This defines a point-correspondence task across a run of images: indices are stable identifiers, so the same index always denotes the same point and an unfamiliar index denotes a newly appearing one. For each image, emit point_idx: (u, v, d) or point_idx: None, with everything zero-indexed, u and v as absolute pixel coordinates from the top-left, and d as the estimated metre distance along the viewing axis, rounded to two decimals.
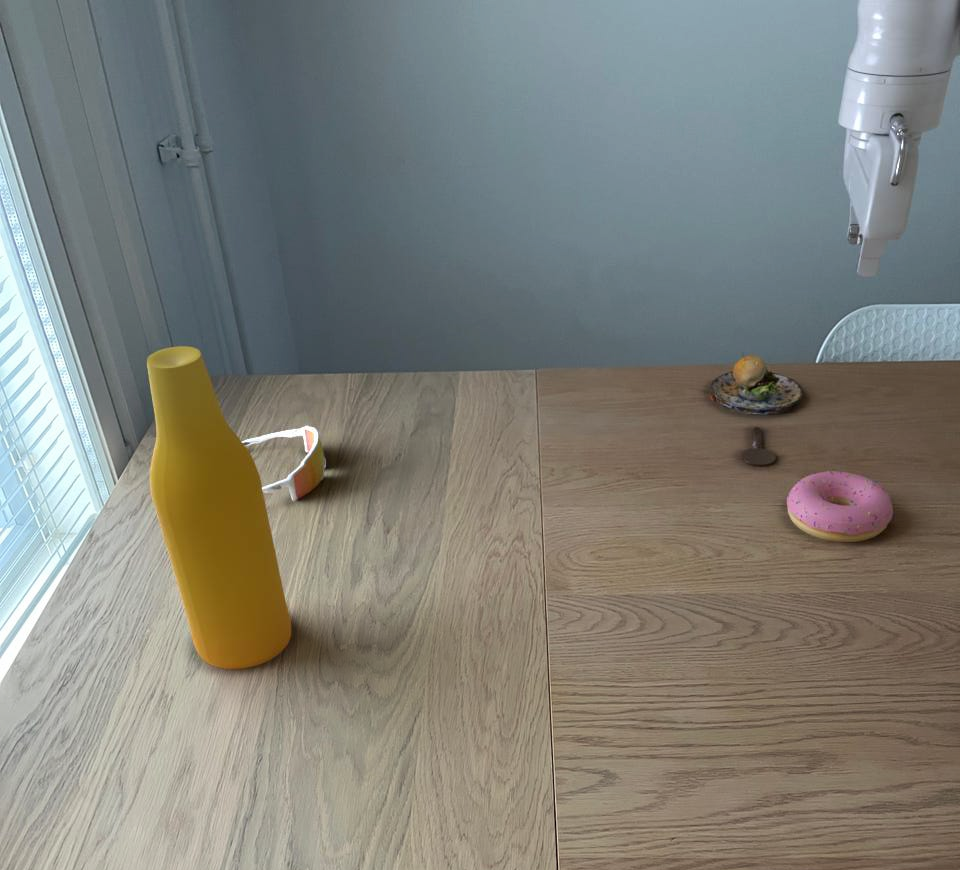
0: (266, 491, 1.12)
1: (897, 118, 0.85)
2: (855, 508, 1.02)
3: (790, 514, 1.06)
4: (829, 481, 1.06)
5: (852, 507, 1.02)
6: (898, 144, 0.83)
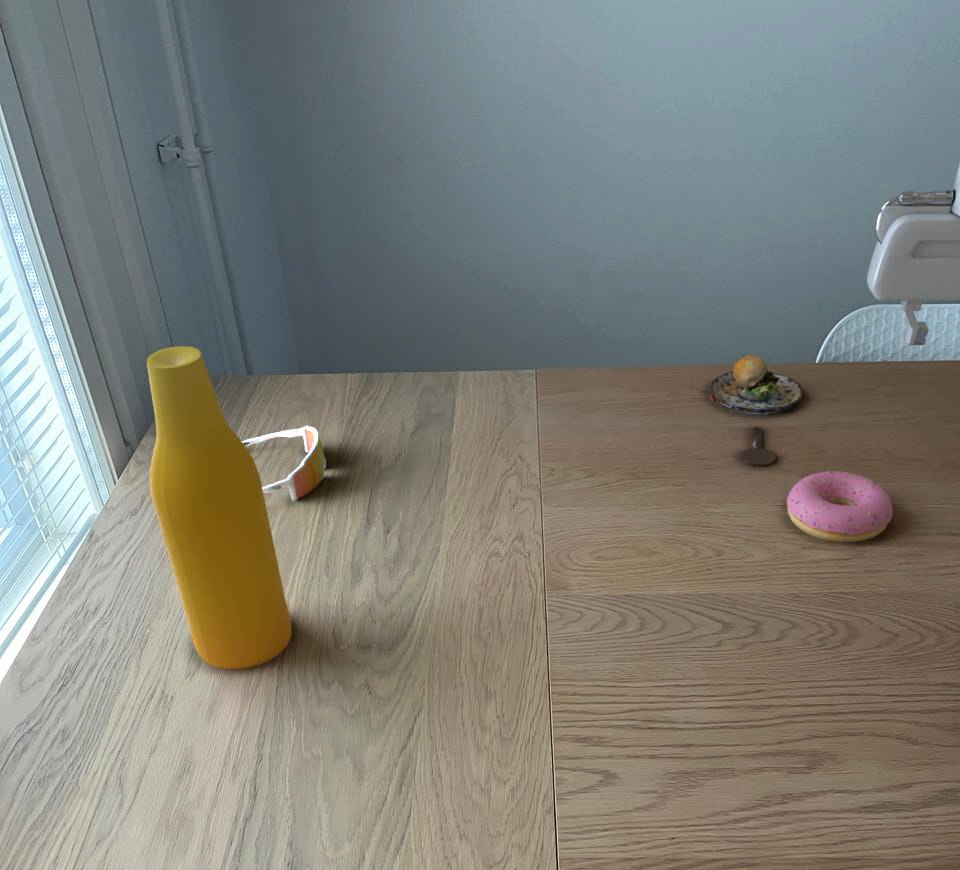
0: (266, 491, 1.12)
1: (938, 191, 0.86)
2: (855, 508, 1.02)
3: (790, 514, 1.06)
4: (829, 481, 1.06)
5: (852, 507, 1.02)
6: None
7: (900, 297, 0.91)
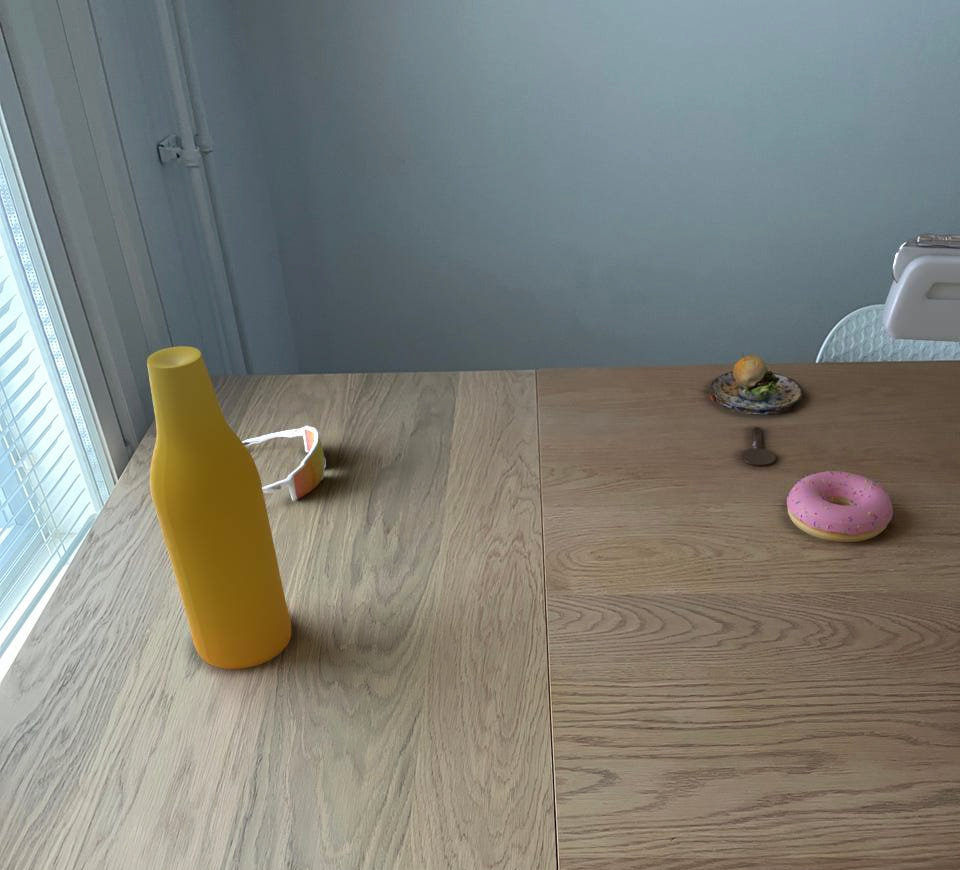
0: (266, 491, 1.12)
1: (955, 234, 0.87)
2: (855, 508, 1.02)
3: (790, 514, 1.06)
4: (829, 481, 1.06)
5: (852, 507, 1.02)
6: None
7: (914, 336, 0.91)
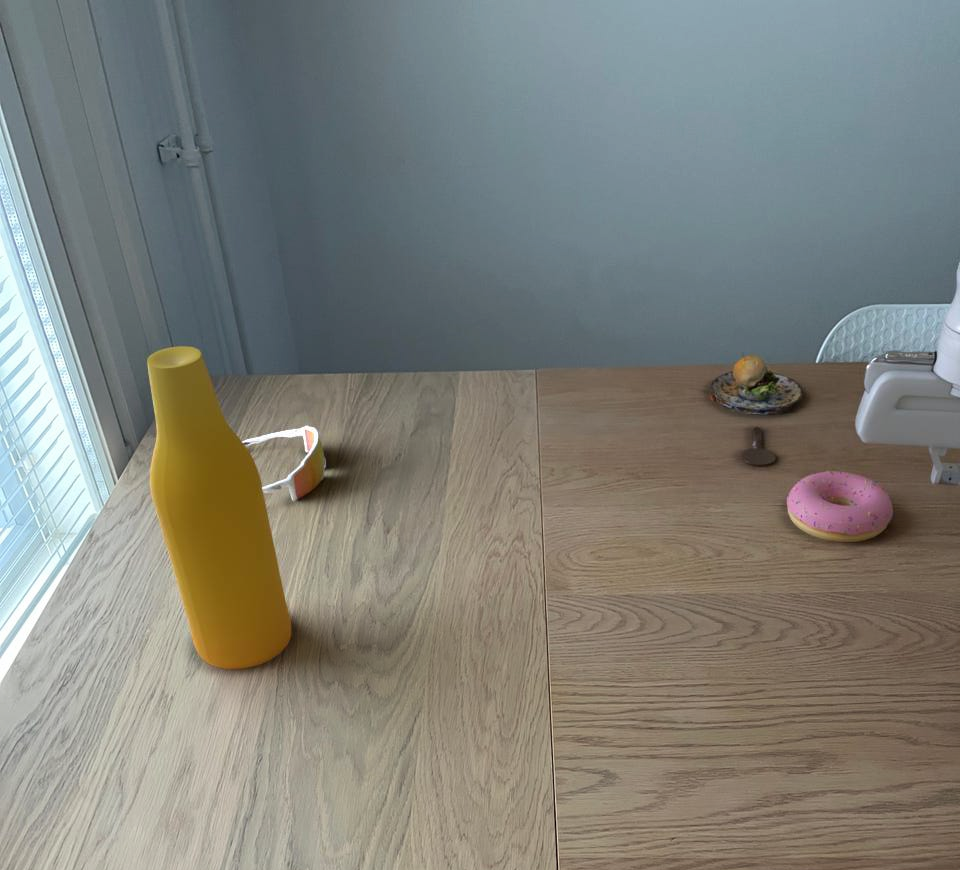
0: (266, 491, 1.12)
1: None
2: (855, 508, 1.02)
3: (790, 514, 1.06)
4: (829, 481, 1.06)
5: (852, 507, 1.02)
6: None
7: (884, 442, 0.98)
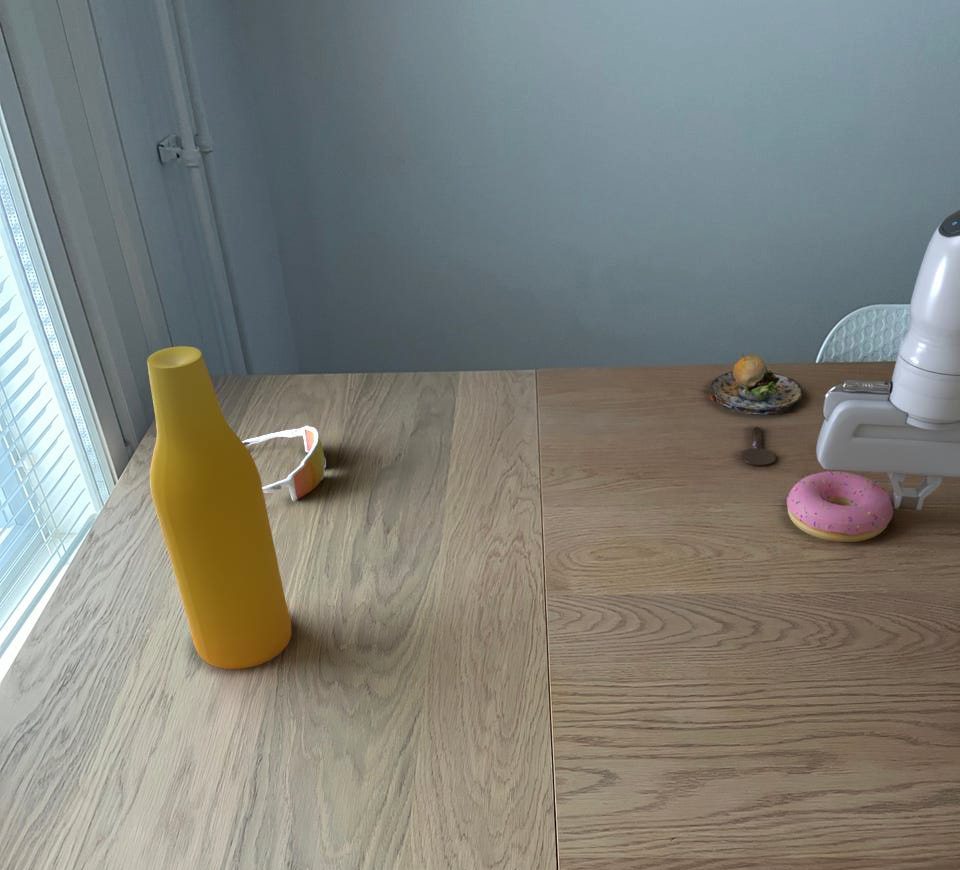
0: (266, 491, 1.12)
1: (877, 381, 0.96)
2: (855, 508, 1.02)
3: (790, 514, 1.06)
4: (829, 481, 1.06)
5: (852, 507, 1.02)
6: None
7: (844, 468, 1.01)
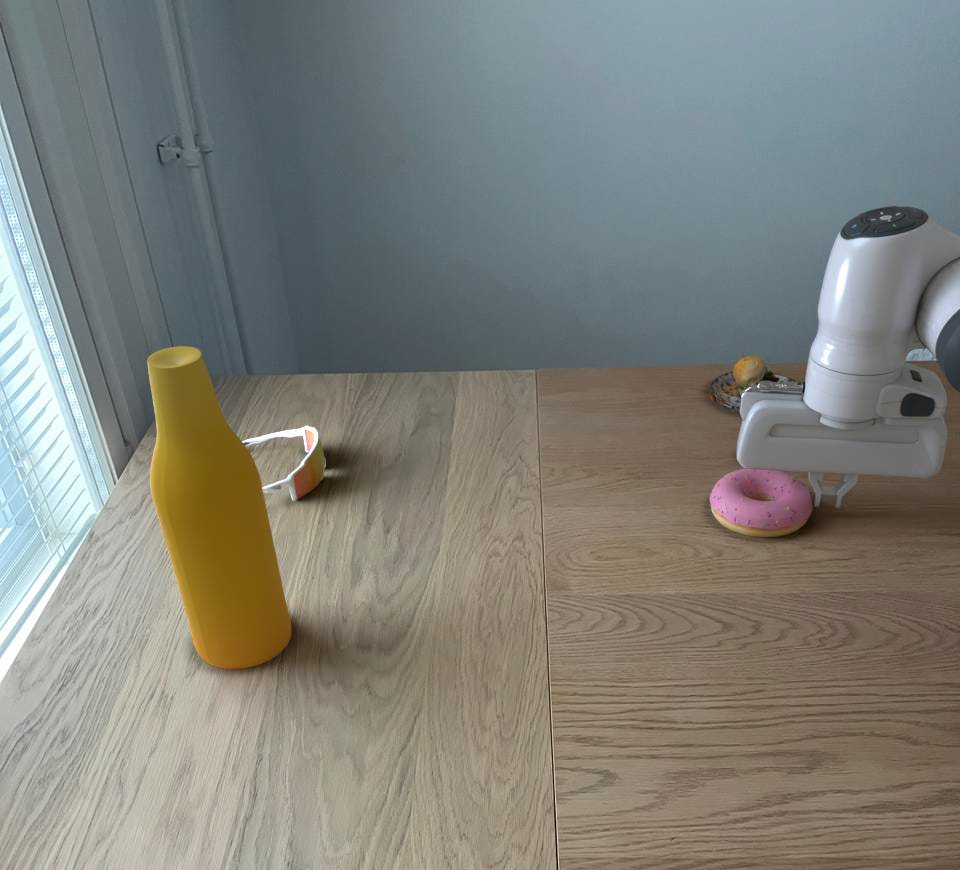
0: (266, 491, 1.12)
1: (791, 382, 0.98)
2: (774, 503, 1.03)
3: (713, 510, 1.07)
4: (751, 477, 1.08)
5: (771, 502, 1.03)
6: None
7: (762, 467, 1.02)
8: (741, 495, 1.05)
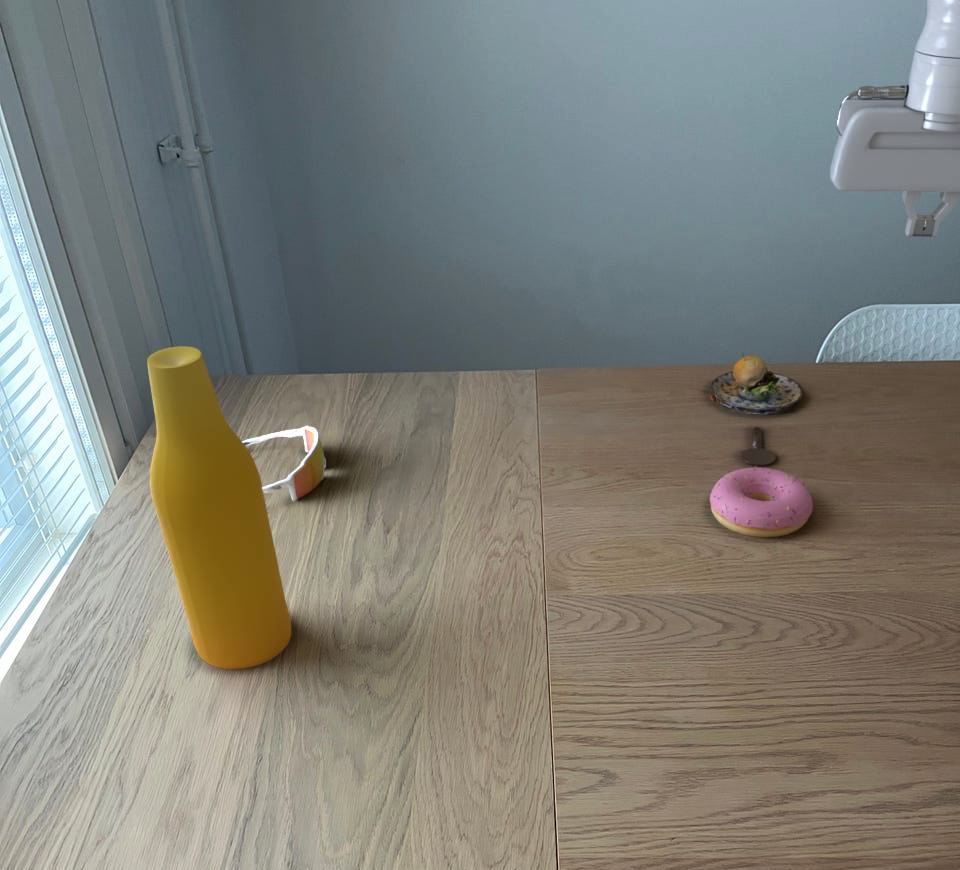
0: (266, 491, 1.12)
1: (893, 86, 0.95)
2: (774, 503, 1.03)
3: (713, 510, 1.07)
4: (751, 477, 1.08)
5: (772, 502, 1.03)
6: None
7: (858, 187, 0.99)
8: (741, 495, 1.05)
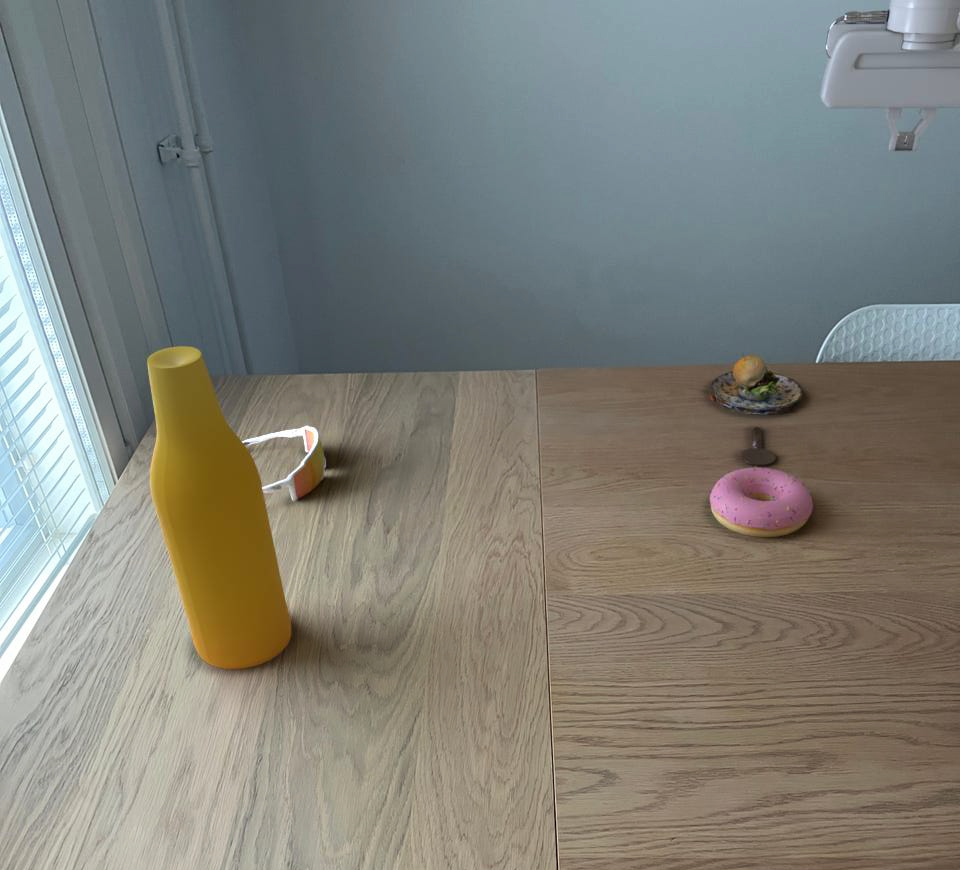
0: (266, 491, 1.12)
1: (875, 11, 1.06)
2: (774, 503, 1.03)
3: (713, 510, 1.07)
4: (751, 477, 1.08)
5: (772, 502, 1.03)
6: None
7: (845, 105, 1.11)
8: (741, 495, 1.05)
